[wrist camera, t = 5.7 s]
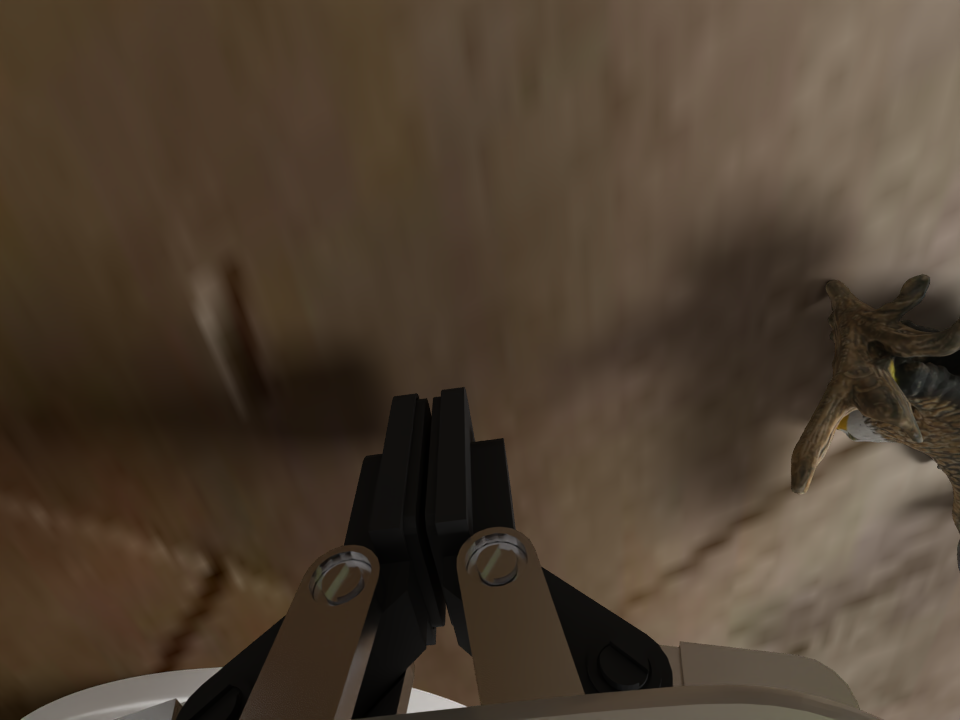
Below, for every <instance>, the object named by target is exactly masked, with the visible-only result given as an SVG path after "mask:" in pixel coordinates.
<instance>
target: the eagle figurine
mask: <svg viewBox="0 0 960 720" xmlns="http://www.w3.org/2000/svg"><path fill="white" fill-rule="evenodd" d="M929 284H930V278H929V276H927V275H919V276H915V277H913V278H910V279H909V280H908V281H906V283H905V284H904V285H903V287H902V289H901V292H900V294H899V296H898V297H897V299H895V300H894V301H893V302H890V303H887V304H885V305H883V306H882V307H881V308H879V309H874V308H872V307H870V306H869V305H867V304H865V303H863V302H861V301H860V300H859V299H857V298H856V297H855V296H854V295H853V294H852V293H851V292H850V290H849V289H848V288H847V287H846V286H845V285H844V284H843V283H842V282H841V281H838V280H831V281H829V282H828V283H827V284H826V292H827V294H828V296H829V298H830V300H831V305H832V310H833V312H832V314H831V315H830V316H829V318H828V322H829V324H830V326H831V327H832V329H833V331H832V332H831V334H830V339H831V340H832V341H833V342H835V357H834V360H833V362H832V367H833V378H832V380H831V381H830V383H829V384H828V387H827V389H826V391H825V393H824V395H823V397H822V399H821V401H820V403H819V405H818V407H817V409H816V410H815V412H814V414H813V416H812V417H811V419H810V421H809V423H808V425H807V426H806V428H805V430H804V432H803V434H802V436H801V438H800V440H799V441H798V443H797V444H796V446H795V448H794V451H793V454H792V458H791V489H792V491H793V492H794V493H797V494H804V493H806V491H807V490H808V488H809V486H810V483H811V480H812V477H813V474H814V471H815V468H816V467H817V465H818V464H819V463H820V462H821V461H822V459H823V458H824V456H825V454H826V452H827V450H828V448H829V446H830V444H831V441H832V439H833V436H834V433H835V431H836V429H838V430H840V431H843V432H844V433H846V435H847V436H848V437H849V438H850V439H851V440H853V441H873V442H895V443H903V444H905V445H908V446H909V447H911V448H913V449H916V450H918V451H921V452H923V453H925V454H927V455H929V456H930V457H931V458H933V459H934V461H935V462H936V463H937V464H938V466H937V468H938V469H942V471H943V472H944V473H945V474H946V475H947V477H948V478H949V480H950V482H951V484H952V486H953V494H954V502H953V511H952V516H953V520H954V523H955V525H956V527H957V529H958V531H959V533H960V318H959V319H958V320H957V321H956V322H955V323H954V324H953V326H952V327H951V328H949V329H947V330H944V331H938V330H935V329H930V328H924V327H922V326H918V325H917V326H916V325H915V324H913V323H912V322H911V321H910V320H903V321H900V319H901V318H902V316H903V315H904V314H905V313H906V312H908V311H909V310H910V309H912V308H913V307H915V306H916V305H917V304H919V303H920V302H921V301H922V299H923V298H924V296H925V294H926V291H927V289H928V287H929ZM957 560H958V568H959V571H960V541H959V544H958V547H957Z"/></svg>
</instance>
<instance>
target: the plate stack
mask: <svg viewBox="0 0 960 720" xmlns="http://www.w3.org/2000/svg"><path fill="white" fill-rule="evenodd" d="M221 668H223V667H221ZM221 668H203V669H190V670H180V671H171V672H163V673H156V674H149V675H144V676H138V677H132V678H128V679H123V680H118V681H114V682H110V683H106V684H102V685H98V686H95V687H91V688H88V689H85V690H82V691H79V692H76V693H73V694H70V695H68V696H65V697H62V698H60V699H58V700H55V701H53V702H51V703H49V704H47V705H45V706H43V707H41V708H39V709H37V710H35V711H33V712H32V713H30V714H28V715H27V716H25V717H24V718H22V719H21V720H114V719H117V718H120V717H123V716H126V715H129V714H132V713H135V712H137V711H140V710H143V709H146V708H149V707H152V706H155V705H158V704H161V703H164V702H166V701H169V700H172V699H175V698H176V699H177V700H178V701H179V702H180V703H183V702H185V701H187V700H188V698H189V697H190V696H191V695H192V694H193V693H194V692H195V691H196V690H197V689H198V688H199V687H200V686H201V685H202V684H203V683H205V682H206V681H207V680H208V679H209V678H211V677H212V676H213V675H214V674H215V673H217V672H218V671H219V670H220V669H221ZM461 707H467V706H464V705H462V704H459V703H457V702H454V701H451V700H449V699H446V698H443V697H440V696H437V695H434V694H431V693H428V692H425V691H421V690H418V689H414V688H412V690H411V694H410V699H409V704H408V709H407V713H415V712H425V711H434V710H443V709H452V708H461Z"/></svg>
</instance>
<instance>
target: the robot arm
mask: <svg viewBox="0 0 960 720" xmlns="http://www.w3.org/2000/svg"><path fill="white" fill-rule="evenodd" d="M446 606H447V609H448V613H449V617H450V620H451V624H452V625H453V626H454V630H455V633H456V637H457V641H458V644H459V646H460V647H462V648H463V649H464V650H465V651H466V652H467V653H469V654H470V655H471V656H472V658H473V664H474V669H475V675H476V681H477V686H478V692H479V698H480V703H481V706H471V707H461V708H452V709H443V710H434V711H425V712H415V713H407V709H408V704H409V699H410V694H411V690H412V685H413V680H414V673H415V664H414V661H415V660H416V659H417V658H418V657H419V656H420V655H421V654H422V652H423V651H424V650H425V649H426V645H434V644H436V627H441V626H444V625H445V613H446ZM114 720H883V719H881V718H879V717H876V716H874V715H872V714H869V713H867V712H864V711H862V710H860V708H859V705H858V702H857V700H856V699H855V697H854V695H853V693H852V691H851V690H850V688H849V686H848V684H847V683H846V682H845V681H844V680H843V679H842V678H841V677H840V676H839V675H838V674H837V673H836V672H835V671H834V670H832V669H830V668H829V667H827V666H825V665H824V664H822V663H820V662H819V661H817V660H814V659H811V658H807V657H803V656H800V655H793V654H784V653H776V652H767V651H758V650H750V649H741V648H733V647H724V646H715V645H707V644H698V643H689V642H681V641H680V644H679V647H673V646H665V645H659V644H657V643H656V642H655V641H654V640H653V639H651V638H650V637H649V636H648V635H647V634H645V633H644V632H642V631H641V630H639V629H637V628H636V627H634V626H633V625H631V624H630V623H628V622H627V621H625V620H623V619H622V618H620V617H619V616H617V615H616V614H614V613H613V612H611V611H609V610H608V609H606V608H605V607H603V606H602V605H600V604H599V603H597V602H595V601H594V600H592V599H591V598H589V597H588V596H586V595H585V594H583V593H581V592H580V591H578V590H577V589H575V588H574V587H572V586H571V585H569V584H568V583H566V582H564V581H563V580H561V579H560V578H558V577H557V576H555V575H554V574H552V573H550V572H549V571H547V570H546V569H544V568H543V567H541V565H540V562H539V559H538V556H537V553H536V550H535V548H534V546H533V545H532V543H531V541H530V539H528V538H527V537H526V536H525V535H524V534H523V533H521V532H519V531H517V530H516V529H515V521H514V512H513V504H512V496H511V488H510V480H509V473H508V465H507V458H506V451H505V445H504V439H503V438H502V439H494V440H486V441H478V442H475V439H474V433H473V428H472V422H471V417H470V411H469V405H468V400H467V394H466V390H465V387H462V388H454V389H447V390H442V391H441V397H434V398H433V407H432V416H431V412H430V408H429V403H428V400H427V398H426V399H419V396H418V394H409V395H402V396H394V397H393V400H392V405H391V411H390V416H389V422H388V427H387V432H386V438H385V443H384V449H383V454H377V455H370V456H366V457H365V458H364V461H363V464H362V468H361V473H360V477H359V482H358V486H357V490H356V495H355V499H354V504H353V508H352V512H351V517H350V521H349V525H348V530H347V534H346V539H345V543H344V546H340V547H338V548H335V549H332V550H330V551H328V552H327V553H325V554H324V555H322V556H320V557H319V558H318V559H317V560H316V561H315V562H314V563H313V564H312V565H311V566H310V567H309V569H308V570H307V572H306V573H305V575H304V577H303V579H302V581H301V583H300V585H299V588H298V590H297V592H296V594H295V597H294V599H293V601H292V603H291V605H290V608H289V610H288V612H287V614H286V615H285V616H284V617H283V618H282V619H281V620H279V621H278V622H277V623H276V624H275V625H273V626H272V627H271V628H270V629H269V630H267V631H266V632H265V633H264V634H263V635H261V636H260V637H259V638H258V639H256V640H255V641H254V642H253V643H252V644H250V645H249V646H248V647H247V648H246V649H244V650H243V651H242V652H241V653H240V654H238V655H237V656H236V657H235V658H234V659H232V660H231V661H230V662H229V663H228V664H226V665H225V666H224V667H223V668H221V669H220V670H219V671H218V672H217V673H215V674H214V675H213V676H212V677H211V678H209V679H208V680H207V681H206V682H205V683H203V684H202V685H201V686H200V687H199V688H198V689H197V690H196V691H195V692H194V693H193V694H192V695H191V696H190V697H189V698H188V700H187V701H185V702H183V703H180V702H179V701H178V700H177V699H176V698H175V699H172V700H169V701H166V702H164V703H161V704H158V705H155V706H152V707H149V708H146V709H143V710H140V711H137V712H135V713H132V714H129V715H126V716H123V717H120V718H117V719H114Z"/></svg>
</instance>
